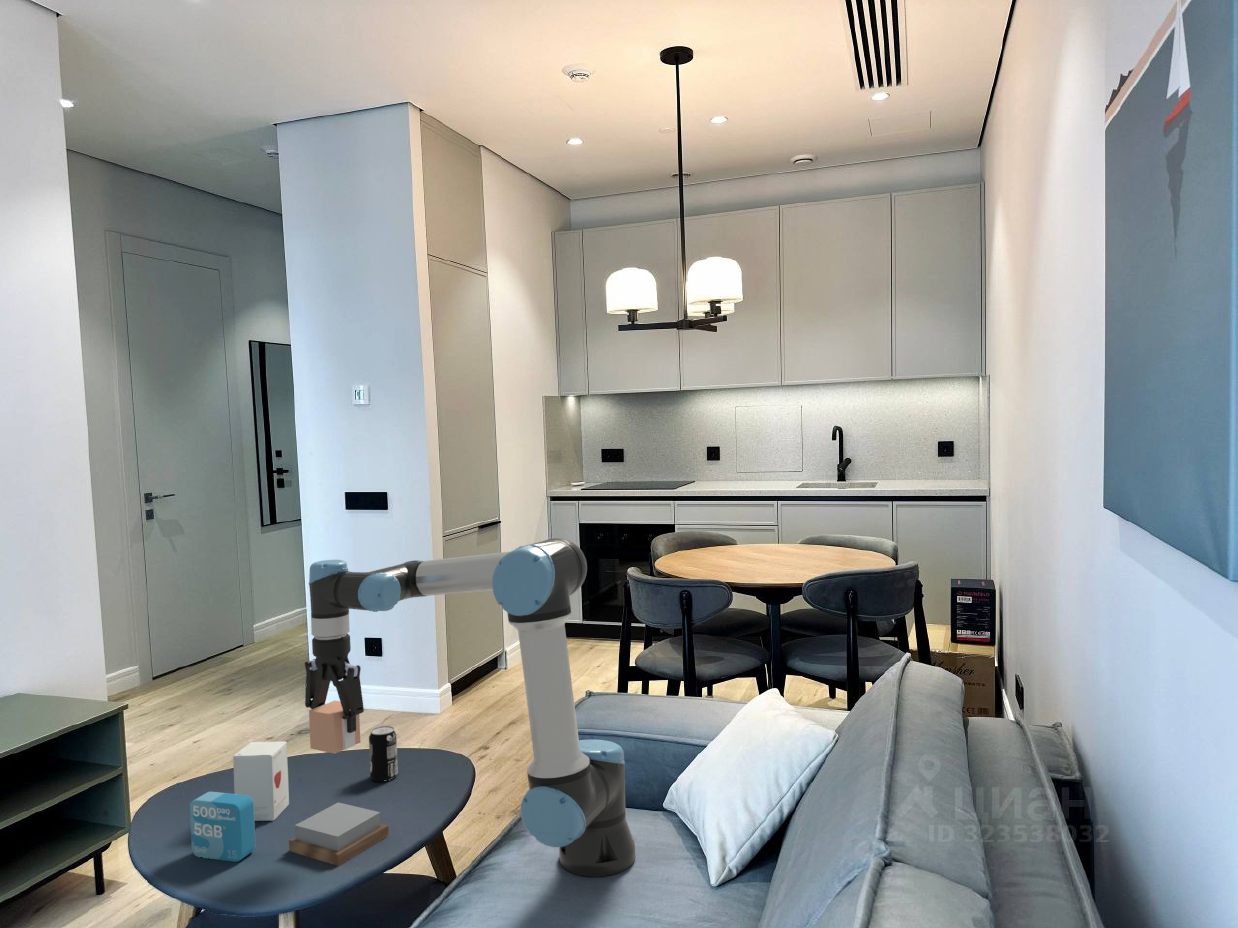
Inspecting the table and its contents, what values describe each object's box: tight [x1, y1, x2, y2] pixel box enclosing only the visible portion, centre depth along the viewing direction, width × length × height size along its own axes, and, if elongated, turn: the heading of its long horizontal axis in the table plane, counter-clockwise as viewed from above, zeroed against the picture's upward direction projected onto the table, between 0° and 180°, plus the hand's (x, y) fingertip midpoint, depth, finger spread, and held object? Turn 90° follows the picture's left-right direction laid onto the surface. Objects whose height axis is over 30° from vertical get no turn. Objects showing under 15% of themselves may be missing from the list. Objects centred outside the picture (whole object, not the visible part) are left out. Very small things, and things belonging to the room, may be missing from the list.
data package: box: [189, 791, 256, 863], centre depth 179 cm, size 12×4×12 cm, turn 75°
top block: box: [294, 802, 382, 851], centre depth 183 cm, size 12×12×3 cm
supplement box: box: [232, 741, 290, 822], centre depth 199 cm, size 9×9×15 cm
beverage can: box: [368, 725, 399, 782], centre depth 217 cm, size 7×7×12 cm
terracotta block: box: [308, 700, 361, 755], centre depth 182 cm, size 7×7×8 cm
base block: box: [288, 823, 390, 867], centre depth 183 cm, size 14×14×3 cm
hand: (335, 743), depth 182 cm, fingers closed on terracotta block, 7 cm apart
